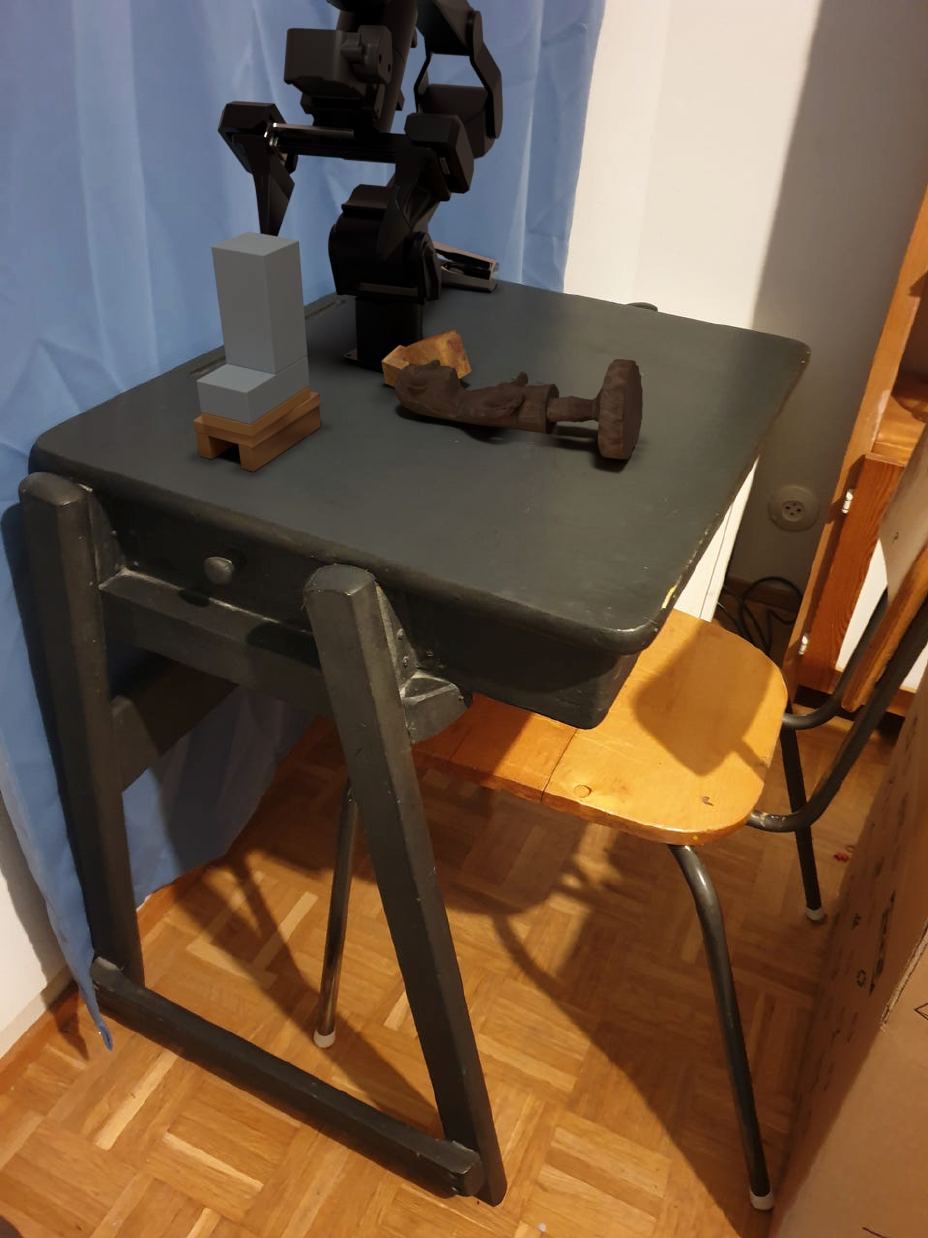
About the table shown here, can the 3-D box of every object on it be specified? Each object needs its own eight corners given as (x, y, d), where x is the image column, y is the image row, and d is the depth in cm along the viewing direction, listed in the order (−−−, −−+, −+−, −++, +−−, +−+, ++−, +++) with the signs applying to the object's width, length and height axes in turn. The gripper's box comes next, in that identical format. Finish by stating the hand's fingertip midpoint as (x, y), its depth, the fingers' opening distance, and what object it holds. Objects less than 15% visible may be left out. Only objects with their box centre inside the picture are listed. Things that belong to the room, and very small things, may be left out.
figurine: (627, 353, 67) (376, 352, 74) (619, 459, 68) (374, 448, 75) (647, 364, 75) (420, 362, 82) (640, 459, 77) (417, 449, 83)
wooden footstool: (268, 413, 78) (264, 379, 76) (322, 427, 76) (319, 392, 74) (198, 455, 72) (192, 419, 70) (255, 472, 70) (250, 436, 68)
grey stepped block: (264, 386, 75) (248, 231, 68) (311, 397, 74) (299, 239, 66) (202, 425, 69) (177, 258, 62) (251, 437, 68) (231, 269, 60)
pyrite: (412, 386, 86) (398, 342, 85) (472, 373, 83) (459, 326, 81) (384, 402, 83) (369, 356, 81) (446, 389, 79) (431, 340, 77)
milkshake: (495, 245, 101) (410, 227, 103) (485, 296, 103) (401, 277, 105) (505, 248, 105) (423, 230, 107) (495, 297, 107) (414, 278, 109)
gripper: (208, -30, 65) (154, 177, 63) (464, -23, 61) (412, 200, 59) (272, 81, 76) (228, 261, 74) (493, 94, 71) (450, 285, 70)
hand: (322, 252), depth 69 cm, fingers open, 9 cm apart
